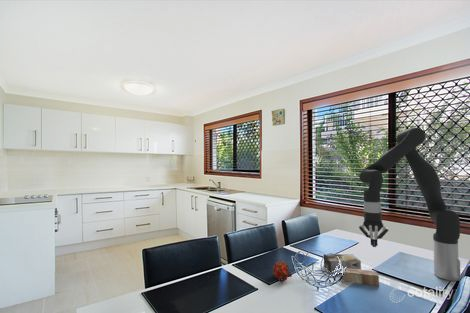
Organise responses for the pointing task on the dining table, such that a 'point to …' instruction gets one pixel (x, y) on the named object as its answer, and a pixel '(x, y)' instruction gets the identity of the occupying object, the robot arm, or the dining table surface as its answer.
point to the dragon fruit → (281, 270)
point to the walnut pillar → (361, 277)
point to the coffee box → (346, 259)
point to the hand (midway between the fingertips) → (374, 246)
